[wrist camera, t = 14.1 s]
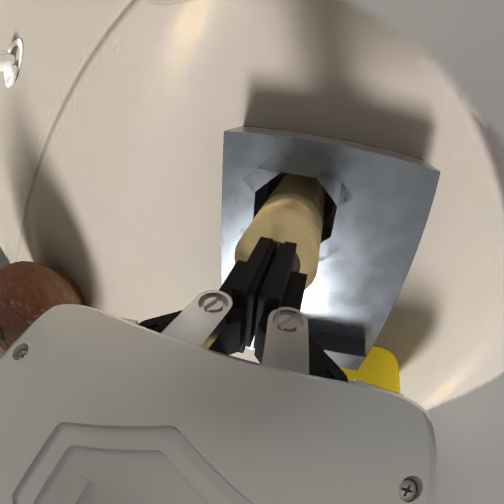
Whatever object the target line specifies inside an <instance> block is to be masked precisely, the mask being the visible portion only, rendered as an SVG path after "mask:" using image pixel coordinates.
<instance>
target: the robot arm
mask: <svg viewBox="0 0 504 504" xmlns="http://www.w3.org/2000/svg"><path fill="white" fill-rule="evenodd" d="M146 1H149V2H153V3H159V4H172V3H178V2H184V1H187V0H146ZM276 247H277V243H276V242H273V239H271V238H266V237H260V239H259V241H258V242H257V244H256V246H255V248H254V249H253V251H252V253H251V255H250V257H249V258H248V260H247V262H246V261H241V260H238V261H237V262H236V263H235V265H234V267H233V268H232V270H231V272H230V273H229V275H228V276H227V278H226V280H225V281H224V283H223V284H222V286H221V288H220V289H219V291H218V290H210V291H205V292H203V293H201V294H199V295H198V296H197V297H196V298H195V299H194V300H193V301H192V302H191V303H190V304H189V305H188V306H187V307H186V308H185V309H184V310H182V311H178V312H174V313H171V314H167V315H163V316H159V317H156V318H152V319H148V320H145V321H142V322H141V323H139V324H138V322H137V320H131V319H125V318H119V317H116V316H114V315H111V314H109V313H106V312H103V311H101V310H98V309H95V308H91V307H88V306H83V305H78V304H61V305H57V306H54V307H52V308H51V309H49V310H48V311H46V312H45V313H44V314H42V315H41V316H40V317H39V318H38V319H37V320H36V321H34V322H33V323H32V324H31V325H30V326H29V327H28V328H27V329H26V330H25V331H24V332H23V333H22V334H21V336H20V337H19V338H18V339H17V340H16V341H15V342H14V343H13V344H12V346H11V347H10V348H9V349H8V350H7V351H6V353H5V354H4V355H3V356H2V357H1V359H0V504H435V494H436V483H437V449H436V440H435V434H434V429H433V425H432V421H431V419H430V417H429V415H428V413H427V412H426V410H425V409H424V408H423V407H421V406H420V405H419V404H418V403H416V402H414V401H413V400H411V399H409V398H407V397H405V396H403V395H402V394H400V393H398V392H395V391H392V390H388V389H385V388H382V387H379V386H376V385H373V384H370V383H368V382H365V381H362V380H359V379H356V378H355V380H354V381H353V380H350V379H348V378H347V376H346V374H345V373H344V372H343V370H342V369H341V368H340V367H339V366H338V365H337V364H336V363H335V362H334V361H333V360H332V359H331V358H330V357H329V356H328V355H327V353H326V352H325V351H324V350H323V349H322V348H321V347H320V346H319V345H318V344H317V343H316V342H315V341H314V340H313V339H312V337H311V336H310V335H309V334H308V320H307V317H306V316H305V314H304V313H302V312H301V311H300V310H301V305H302V300H303V295H304V291H305V286H306V280H307V275H308V274H304V273H299V272H294V271H293V266H294V260H295V254H296V248H297V243H292V242H287V241H285V243H284V244H281V243H280V245H279V247H278V250H277V252H276ZM254 336H255V337H254ZM253 338H254V346H253V348H254V349H255V357H256V358H257V359H258V361H259V362H260V364H259V363H256V362H252V361H248V360H244V359H240V358H237V357H233V356H231V354H233V353H236V352H241V353H243V352H244V349H245V347H246V346H247V347H250V346H251V343H252V341H253Z"/></svg>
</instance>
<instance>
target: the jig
mask: <svg viewBox="0 0 504 504" xmlns="http://www.w3.org/2000/svg"><path fill="white" fill-rule="evenodd" d="M281 172H283V173H290V174H296V175H302V176H308V177H314V178H317V179H318V181H319V182H320V183H321V185H322V186H323V187H324V189H325V190H326V191H327V193H328V194H329V195H330V197H331V198H332V200H333V201H334V205H333V210H332V215H331V216H329V217H327V218H326V219H324V220H323V226H322V235H321V244H320V253H319V261H318V268H317V273H316V277H315V279H314V281H313V282H312V284H311V285H310V286H309V287H308V288H307V289H306V290H305V291H304V295H303V300H302V305H301V310H300V311H301V312H302V313H304V314H305V316H306V317H307V320H308V334H309V335H310V336H311V337H312V339H313V340H314V341H315V342H316V343H317V344H318V345H319V346H320V347H321V348H322V349H323V350H324V351H325V352H326V353H327V355H328V356H329V357H330V358H331V359H332V360H333V361H334V362H335V363H336V364H337V365H338V366H339V367H340V368H345V369H351V370H358V369H359V367H360V366H361V364H362V362H363V361H364V360H365V359H366V357H367V355H368V353H369V352H370V350H371V348H372V346H373V345H374V343H375V341H376V339H377V337H378V335H379V333H380V332H381V330H382V328H383V326H384V324H385V322H386V320H387V318H388V316H389V314H390V312H391V310H392V308H393V305H394V303H395V301H396V299H397V297H398V295H399V292H400V290H401V288H402V286H403V283H404V281H405V279H406V276H407V274H408V271H409V269H410V266H411V264H412V261H413V259H414V256H415V254H416V251H417V248H418V245H419V243H420V240H421V237H422V234H423V231H424V228H425V225H426V222H427V219H428V216H429V212H430V209H431V206H432V202H433V199H434V195H435V191H436V188H437V184H438V180H439V176H440V171H439V170H437V169H436V168H434V167H433V166H431V165H430V164H428V163H427V162H425V161H424V160H422V159H419V158H415V157H412V156H409V155H405V154H402V153H398V152H394V151H391V150H387V149H383V148H379V147H375V146H370V145H366V144H361V143H357V142H352V141H347V140H342V139H337V138H332V137H326V136H320V135H314V134H307V133H301V132H293V131H285V130H277V129H268V128H257V127H245V126H242V127H238V128H234V129H230V130H226V131H224V145H223V178H222V244H221V276H222V284H223V283H224V281H225V280H226V278H227V276H228V275H229V273H230V272H231V270H232V268H233V267H234V265H235V260H234V254H235V248H236V245H237V243H238V241H239V240H240V238H241V237H242V235H243V234H244V232H245V231H246V229H247V228H248V226H249V225H250V223H251V222H252V221H253V219H254V218H255V216H256V215H257V213H258V212H259V210H260V209H261V208H262V206H263V205H264V203H265V202H266V199H267V187H268V182H269V181H270V180H271V179H273V178H274V177H275V176H277V175H278V174H279V173H281ZM254 337H255V336H254ZM253 346H254V338H253V341H252V343H251V346H250V347H247V346H246V347H245V348H248V349H252V350H255V349H254V348H253Z"/></svg>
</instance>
